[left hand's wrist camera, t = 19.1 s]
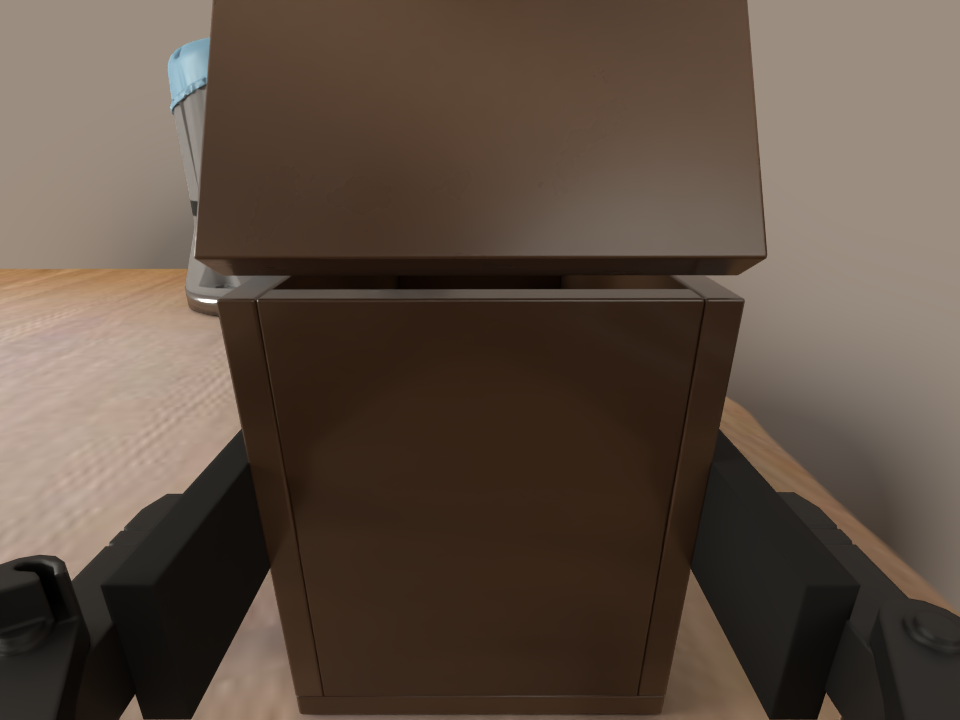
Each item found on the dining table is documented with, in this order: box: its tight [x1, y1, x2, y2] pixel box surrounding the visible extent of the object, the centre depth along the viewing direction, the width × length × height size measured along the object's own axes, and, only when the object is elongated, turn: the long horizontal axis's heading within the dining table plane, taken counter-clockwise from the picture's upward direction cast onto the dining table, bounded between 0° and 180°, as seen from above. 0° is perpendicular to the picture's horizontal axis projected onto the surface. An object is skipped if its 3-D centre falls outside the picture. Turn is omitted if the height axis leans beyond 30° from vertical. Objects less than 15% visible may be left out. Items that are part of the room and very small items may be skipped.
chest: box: [216, 275, 745, 714], centre depth 19 cm, size 16×9×11 cm, turn 0°
